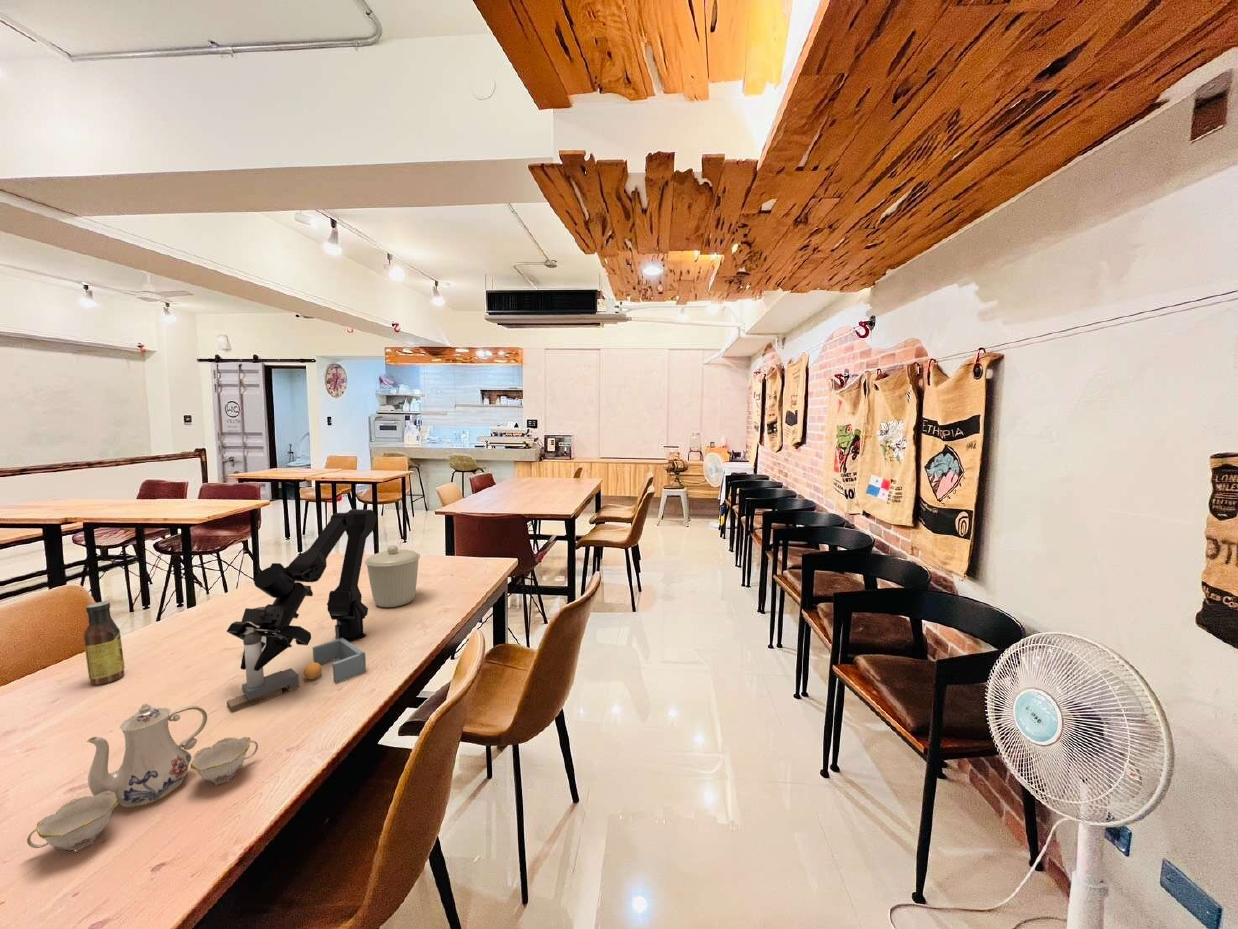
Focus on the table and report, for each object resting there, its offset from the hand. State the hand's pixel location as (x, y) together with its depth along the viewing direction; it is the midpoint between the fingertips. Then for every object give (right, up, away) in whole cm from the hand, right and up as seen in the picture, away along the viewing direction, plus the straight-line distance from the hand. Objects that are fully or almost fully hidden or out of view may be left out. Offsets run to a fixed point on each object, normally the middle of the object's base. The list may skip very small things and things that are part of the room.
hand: (249, 669), depth 110 cm
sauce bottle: (-44, -7, +10) cm, 46 cm away
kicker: (+2, -7, +4) cm, 9 cm away
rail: (0, -8, +2) cm, 8 cm away
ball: (+8, -5, +11) cm, 14 cm away
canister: (+5, -3, +62) cm, 62 cm away
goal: (+11, -7, +16) cm, 21 cm away
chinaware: (+5, -11, -27) cm, 29 cm away
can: (-17, -6, +26) cm, 31 cm away
